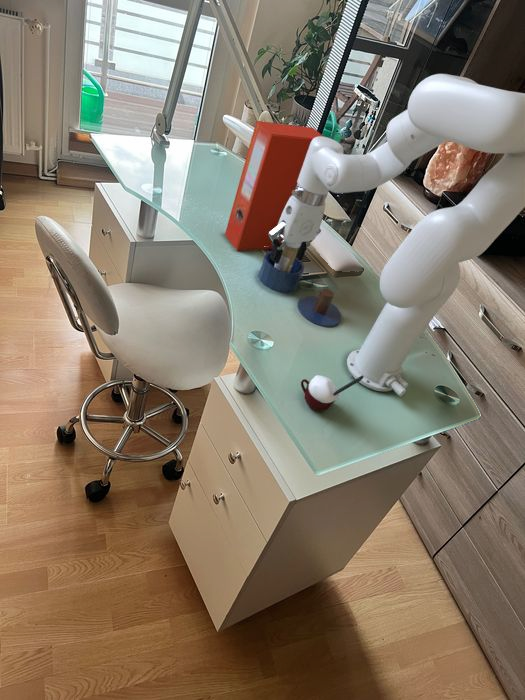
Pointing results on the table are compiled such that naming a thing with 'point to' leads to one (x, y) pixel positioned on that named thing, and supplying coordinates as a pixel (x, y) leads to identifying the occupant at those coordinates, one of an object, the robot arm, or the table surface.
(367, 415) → the table surface
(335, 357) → the table surface
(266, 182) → the file binder
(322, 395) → the cocoa
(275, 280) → the pot
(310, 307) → the pot lid
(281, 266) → the sprinkles bottle
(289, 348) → the table surface
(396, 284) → the robot arm
